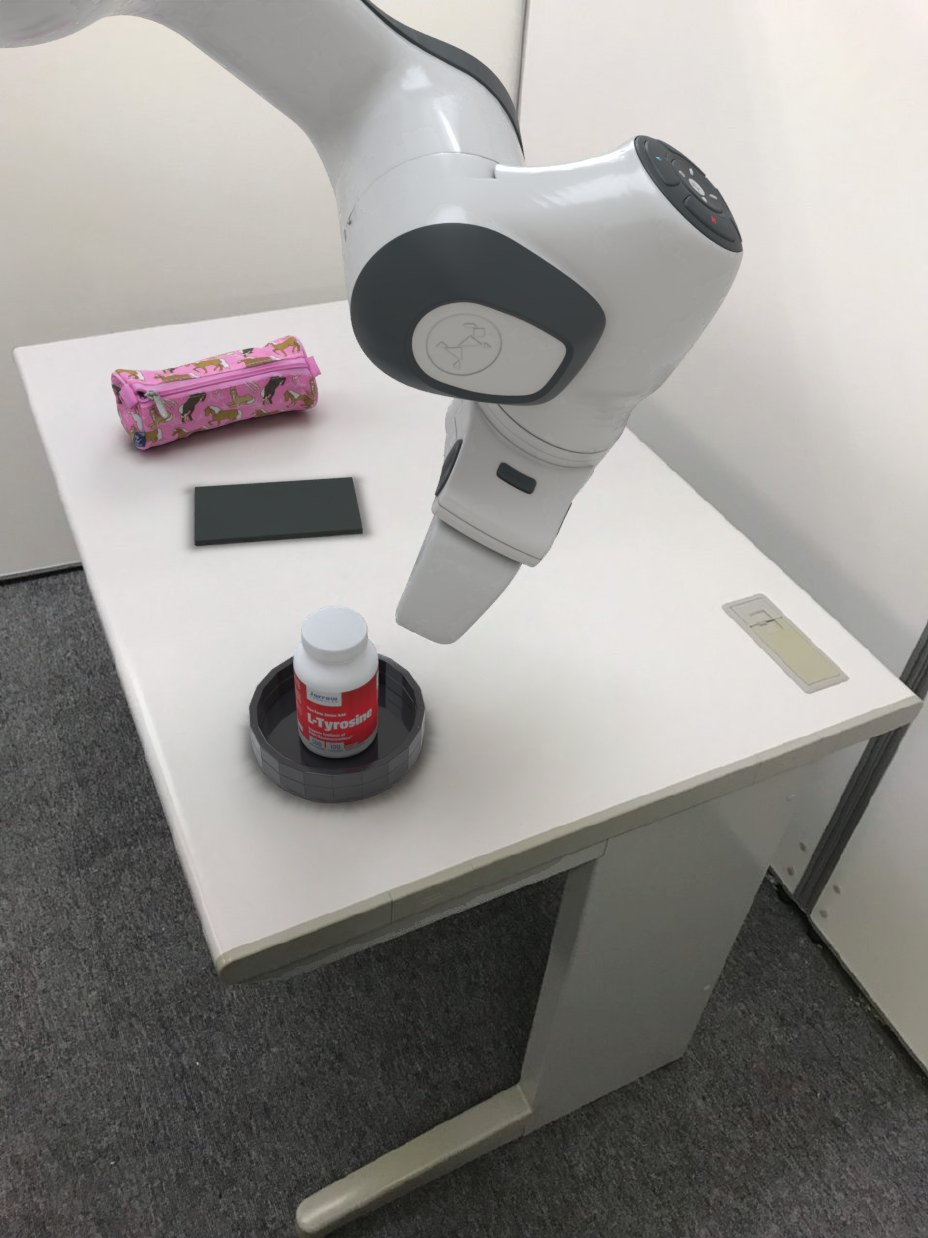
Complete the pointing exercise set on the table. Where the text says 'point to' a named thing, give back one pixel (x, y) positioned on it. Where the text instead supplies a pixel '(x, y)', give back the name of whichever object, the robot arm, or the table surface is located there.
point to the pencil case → (215, 391)
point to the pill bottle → (336, 683)
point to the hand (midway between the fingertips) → (427, 570)
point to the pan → (337, 776)
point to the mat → (275, 510)
